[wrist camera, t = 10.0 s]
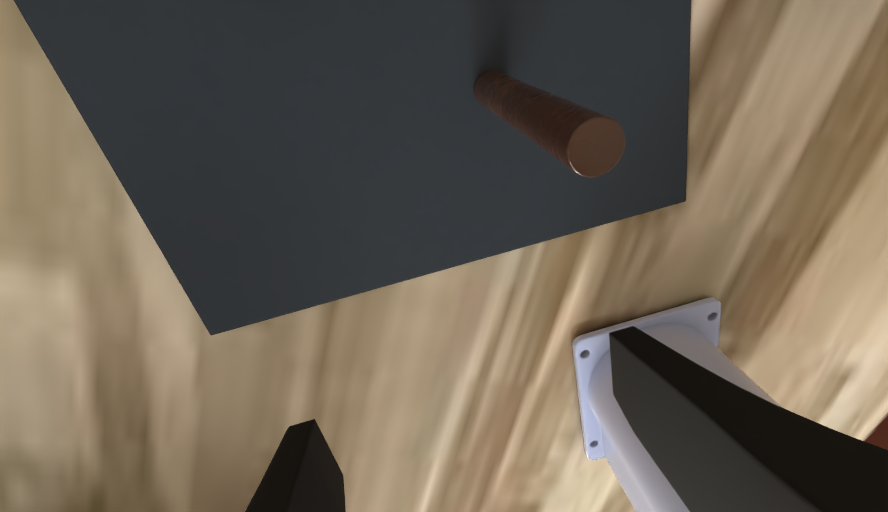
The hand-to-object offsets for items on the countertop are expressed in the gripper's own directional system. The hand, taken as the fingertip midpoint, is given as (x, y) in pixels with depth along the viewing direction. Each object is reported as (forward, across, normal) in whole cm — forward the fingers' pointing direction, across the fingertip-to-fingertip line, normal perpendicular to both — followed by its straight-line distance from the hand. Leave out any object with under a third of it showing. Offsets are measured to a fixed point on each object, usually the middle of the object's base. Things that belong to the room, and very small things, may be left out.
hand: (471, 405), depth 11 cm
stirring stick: (+10, -4, -5) cm, 12 cm away
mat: (+10, -1, -5) cm, 12 cm away
